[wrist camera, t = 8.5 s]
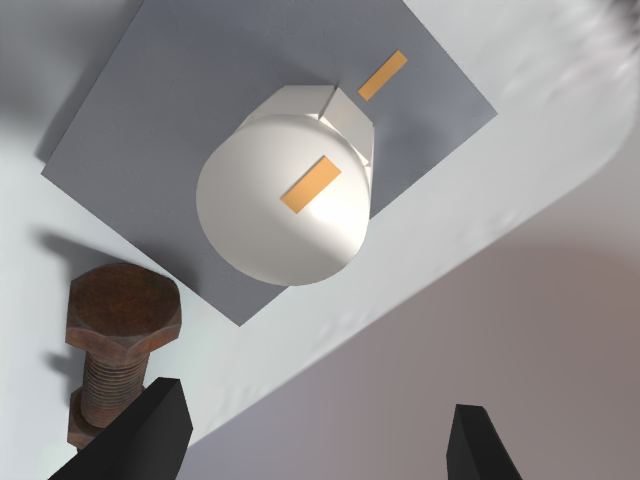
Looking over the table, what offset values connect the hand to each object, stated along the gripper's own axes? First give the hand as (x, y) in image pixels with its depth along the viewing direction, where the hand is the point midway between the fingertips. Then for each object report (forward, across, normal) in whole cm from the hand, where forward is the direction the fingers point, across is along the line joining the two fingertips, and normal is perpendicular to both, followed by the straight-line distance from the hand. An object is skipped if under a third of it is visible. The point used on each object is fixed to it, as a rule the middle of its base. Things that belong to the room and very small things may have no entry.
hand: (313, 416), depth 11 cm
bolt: (+11, +14, +10) cm, 20 cm away
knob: (+9, +1, -4) cm, 10 cm away
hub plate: (+10, +4, -4) cm, 12 cm away
